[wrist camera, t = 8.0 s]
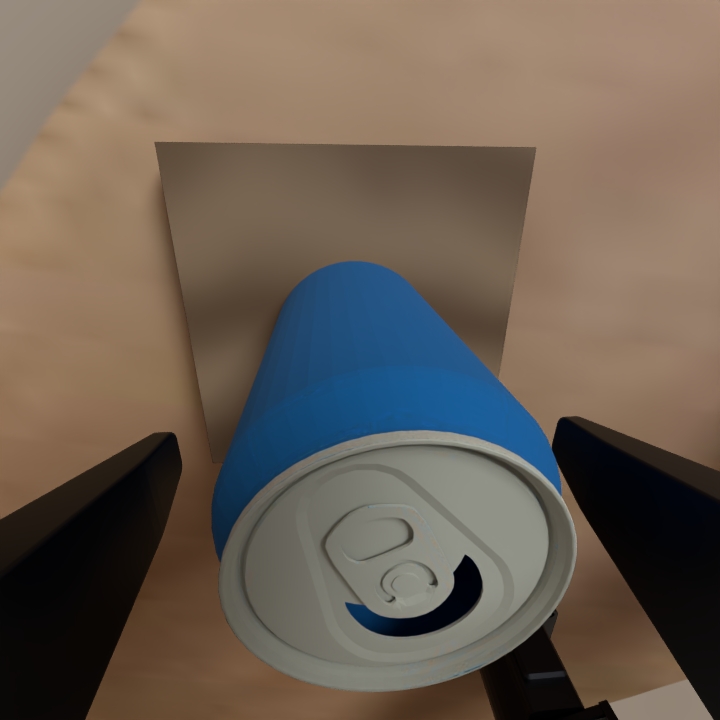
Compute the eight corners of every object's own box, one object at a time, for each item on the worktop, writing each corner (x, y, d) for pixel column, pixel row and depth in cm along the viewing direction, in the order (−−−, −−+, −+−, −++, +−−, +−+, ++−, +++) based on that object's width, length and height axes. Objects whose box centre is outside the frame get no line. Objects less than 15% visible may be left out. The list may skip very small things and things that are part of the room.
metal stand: (473, 429, 22) (486, 450, 20) (222, 439, 21) (213, 463, 19) (513, 152, 16) (536, 147, 15) (174, 147, 15) (154, 142, 14)
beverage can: (321, 417, 19) (316, 742, 8) (249, 300, 16) (85, 535, 5) (445, 361, 18) (634, 628, 7) (390, 229, 15) (552, 323, 4)
